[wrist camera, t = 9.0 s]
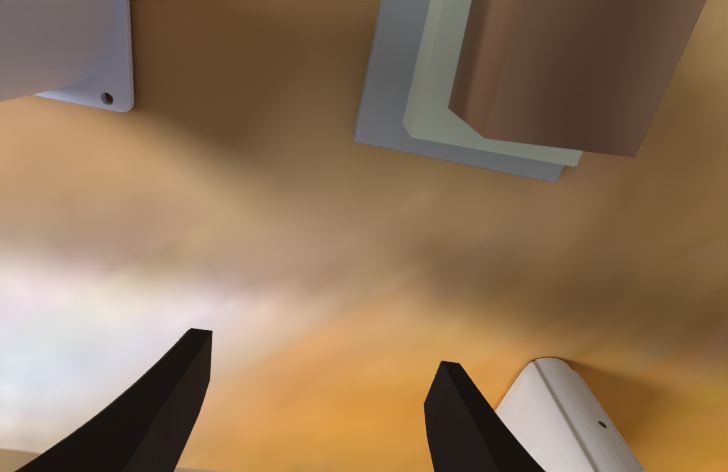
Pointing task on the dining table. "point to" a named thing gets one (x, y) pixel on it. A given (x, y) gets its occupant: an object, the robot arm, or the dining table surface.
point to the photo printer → (563, 422)
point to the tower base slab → (391, 90)
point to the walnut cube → (569, 69)
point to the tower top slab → (435, 85)
